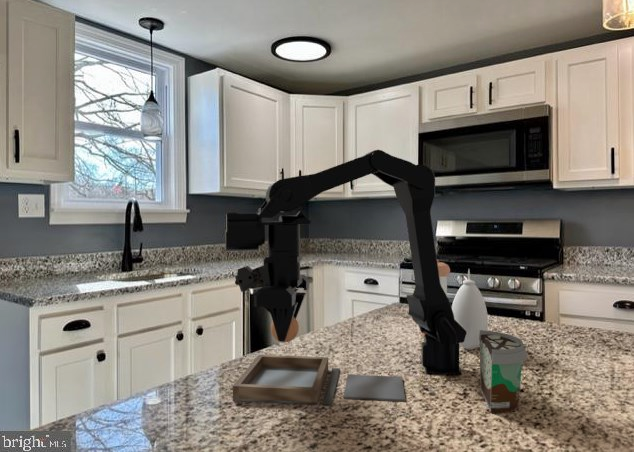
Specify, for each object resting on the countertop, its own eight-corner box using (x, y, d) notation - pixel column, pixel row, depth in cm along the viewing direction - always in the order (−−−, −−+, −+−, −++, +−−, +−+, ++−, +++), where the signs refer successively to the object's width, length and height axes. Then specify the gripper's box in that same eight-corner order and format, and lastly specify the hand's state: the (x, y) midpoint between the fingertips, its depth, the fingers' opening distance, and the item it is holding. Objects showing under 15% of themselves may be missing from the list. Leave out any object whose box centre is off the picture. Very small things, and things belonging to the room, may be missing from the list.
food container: (536, 420, 64) (537, 353, 64) (492, 417, 65) (492, 350, 65) (516, 387, 76) (516, 330, 76) (478, 385, 77) (479, 329, 77)
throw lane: (400, 372, 84) (400, 360, 84) (406, 409, 68) (406, 394, 68) (258, 366, 87) (258, 354, 87) (232, 400, 72) (232, 385, 71)
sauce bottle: (476, 356, 93) (476, 272, 92) (443, 348, 99) (443, 268, 98) (493, 348, 98) (494, 268, 97) (462, 341, 104) (462, 266, 103)
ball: (301, 338, 80) (300, 311, 80) (296, 346, 75) (295, 317, 75) (274, 337, 81) (274, 310, 81) (267, 345, 76) (267, 316, 76)
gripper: (254, 246, 88) (255, 323, 89) (222, 254, 70) (223, 351, 70) (308, 246, 87) (309, 324, 87) (290, 255, 68) (291, 354, 69)
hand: (284, 336), depth 78 cm, fingers closed on ball, 5 cm apart
